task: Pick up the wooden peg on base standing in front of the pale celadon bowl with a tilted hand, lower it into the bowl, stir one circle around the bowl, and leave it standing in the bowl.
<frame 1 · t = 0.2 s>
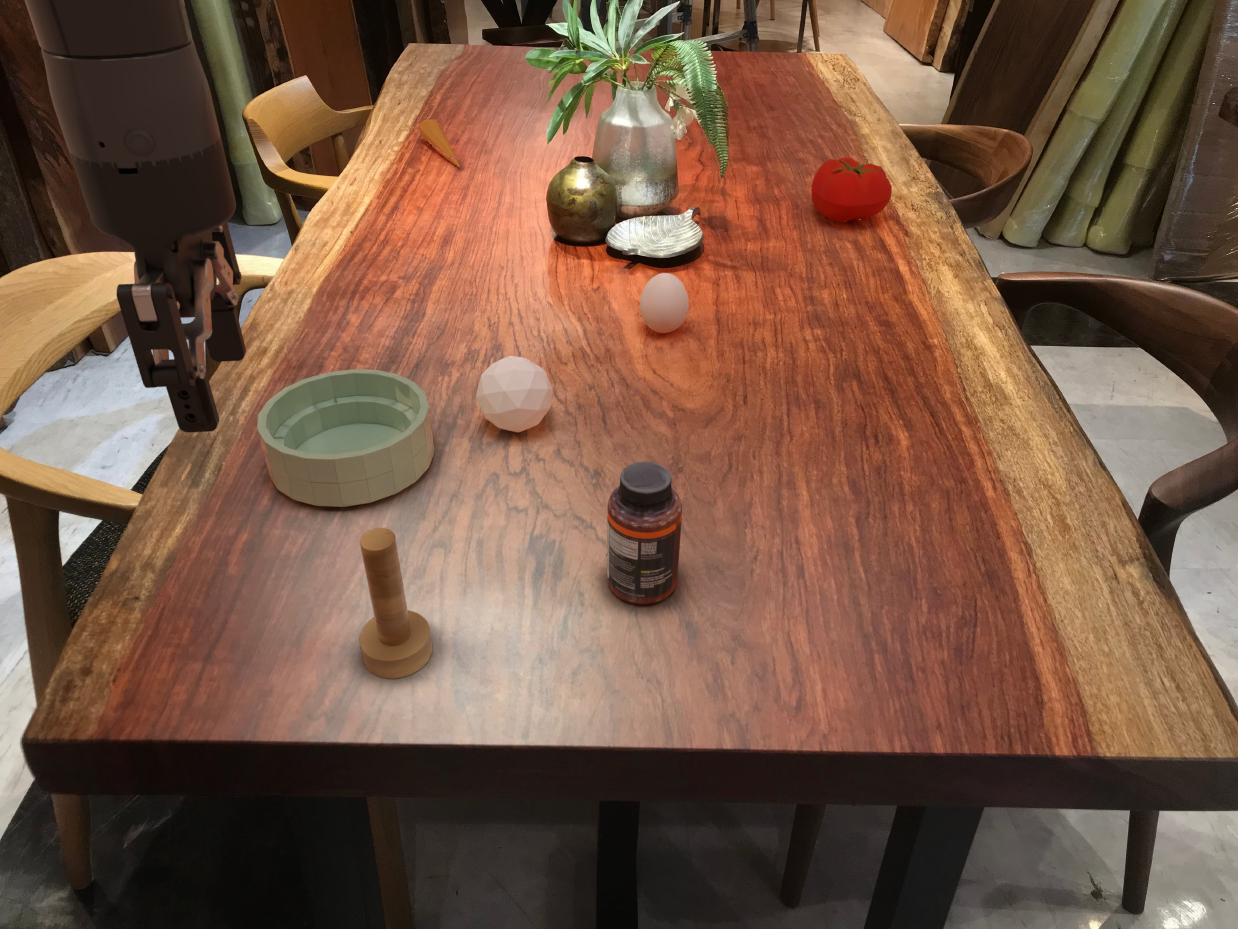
hand: (216, 391, 58), 22 cm above the table, tool pointing down, fingers open, 8 cm apart
geometric ball: (516, 425, 94), on the table
tomato: (846, 218, 145), on the table
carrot: (442, 155, 167), on the table
egg: (662, 332, 112), on the table
wooden peg on base: (398, 652, 68), on the table
bowl: (353, 461, 88), on the table
supplement bottle: (641, 584, 75), on the table
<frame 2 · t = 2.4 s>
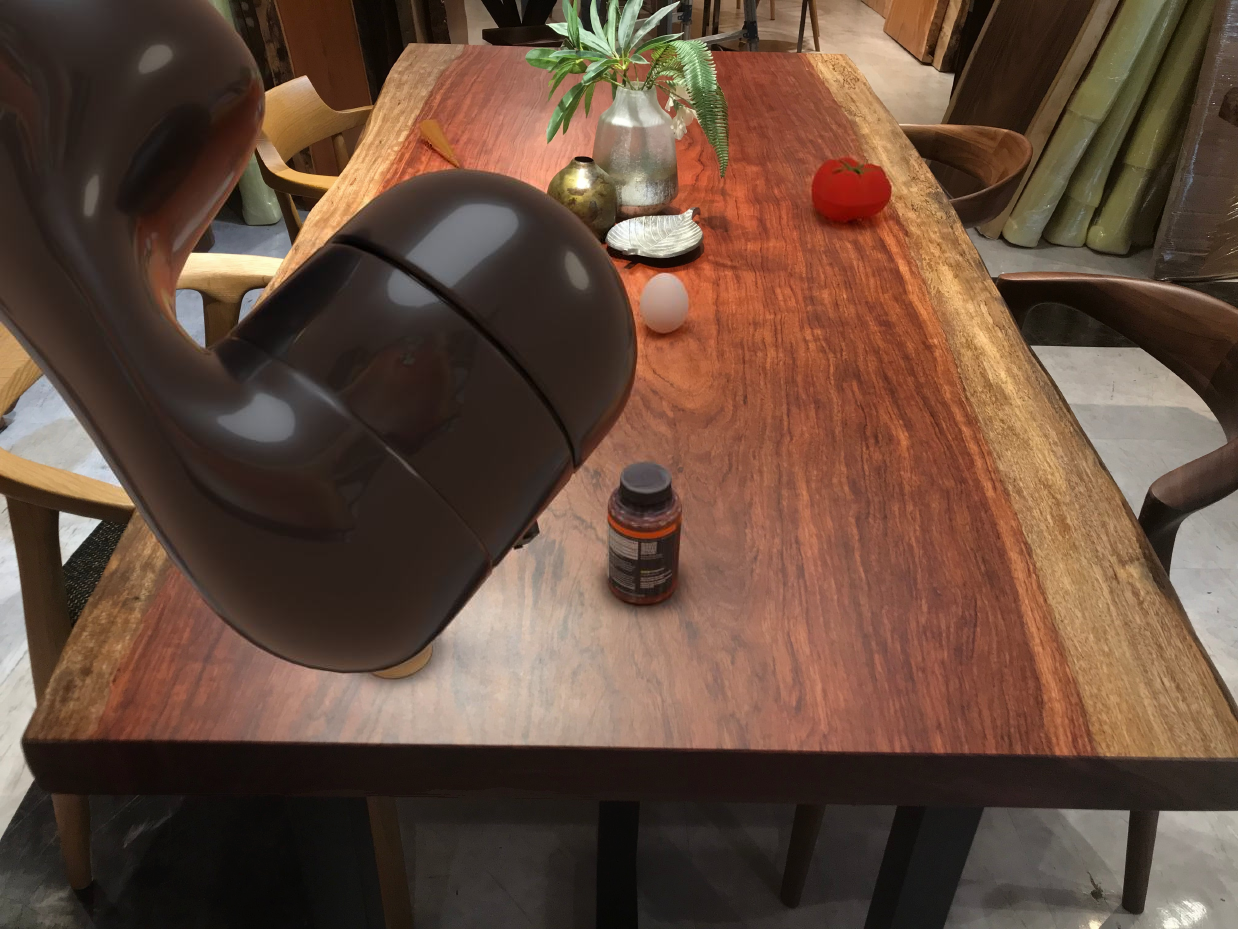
hand: (385, 562, 49), 19 cm above the table, tool tilted 45°, fingers open, 8 cm apart
nothing on the table moved.
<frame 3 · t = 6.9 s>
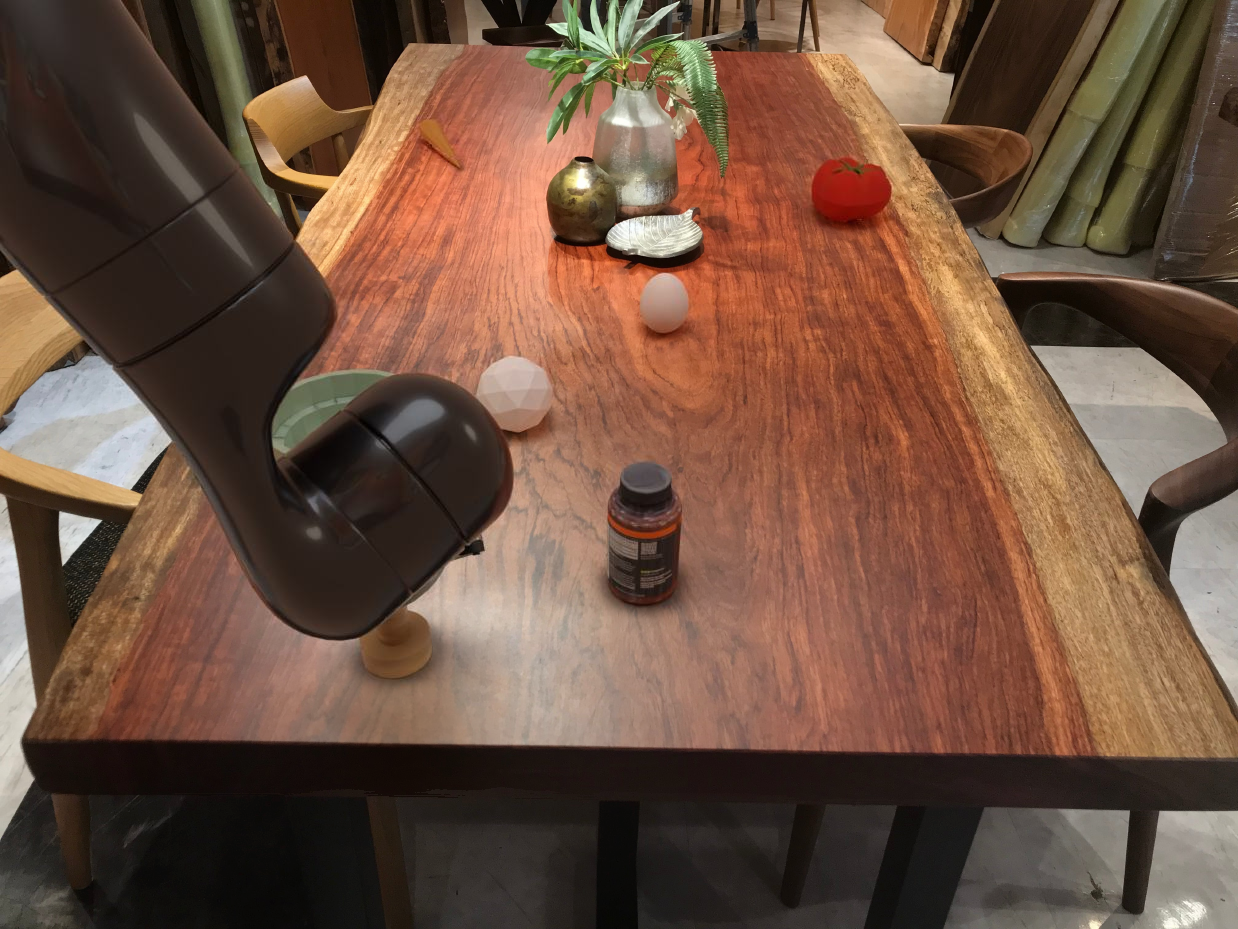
hand: (381, 562, 66), 7 cm above the table, tool tilted 45°, fingers closed on wooden peg on base, 2 cm apart
wooden peg on base: (398, 652, 68), on the table, touching gripper
everything else where it was.
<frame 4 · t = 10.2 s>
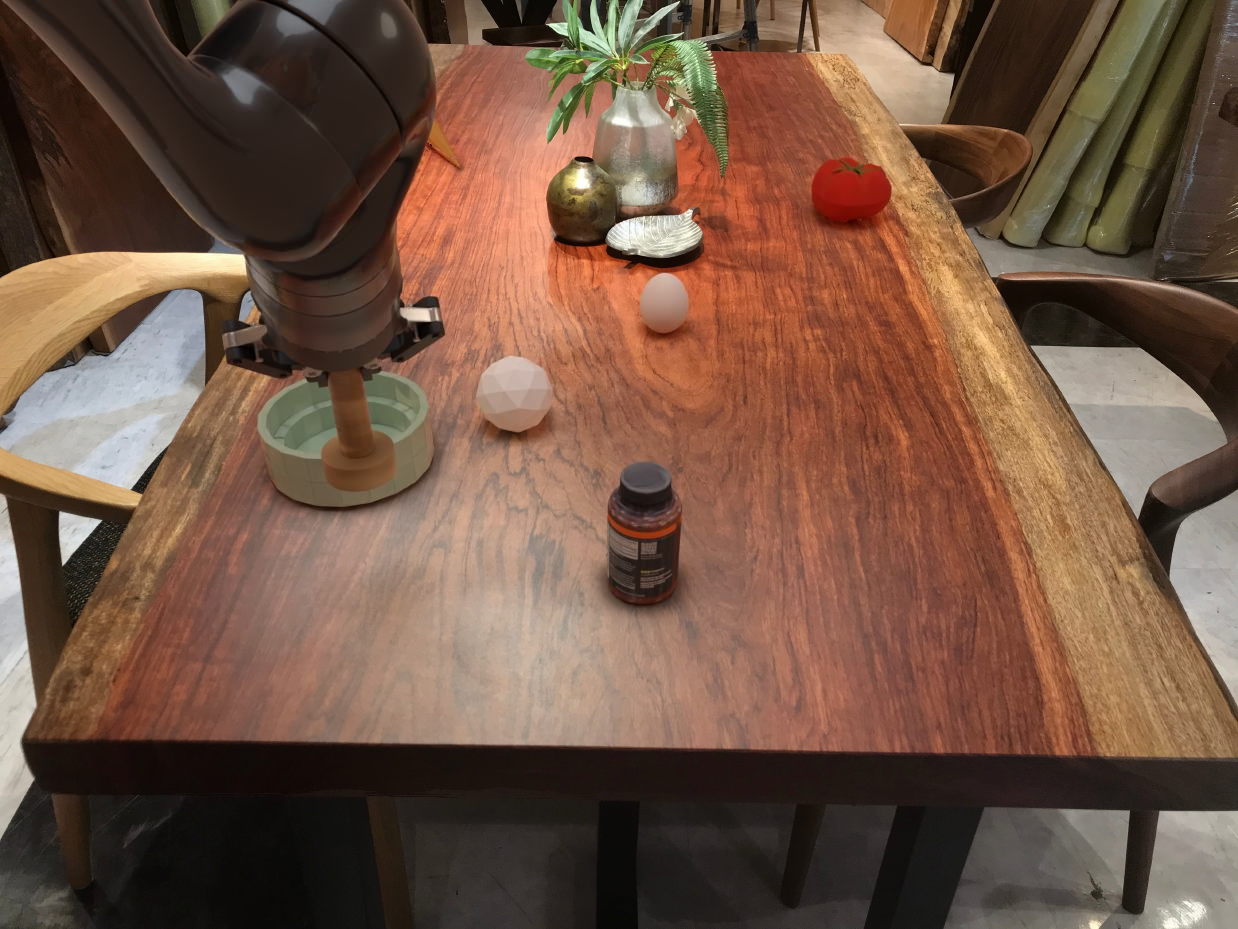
hand: (343, 370, 64), 20 cm above the table, tool tilted 45°, fingers closed on wooden peg on base, 2 cm apart
wooden peg on base: (361, 470, 66), point 12 cm above the table, touching gripper
everything else where it was.
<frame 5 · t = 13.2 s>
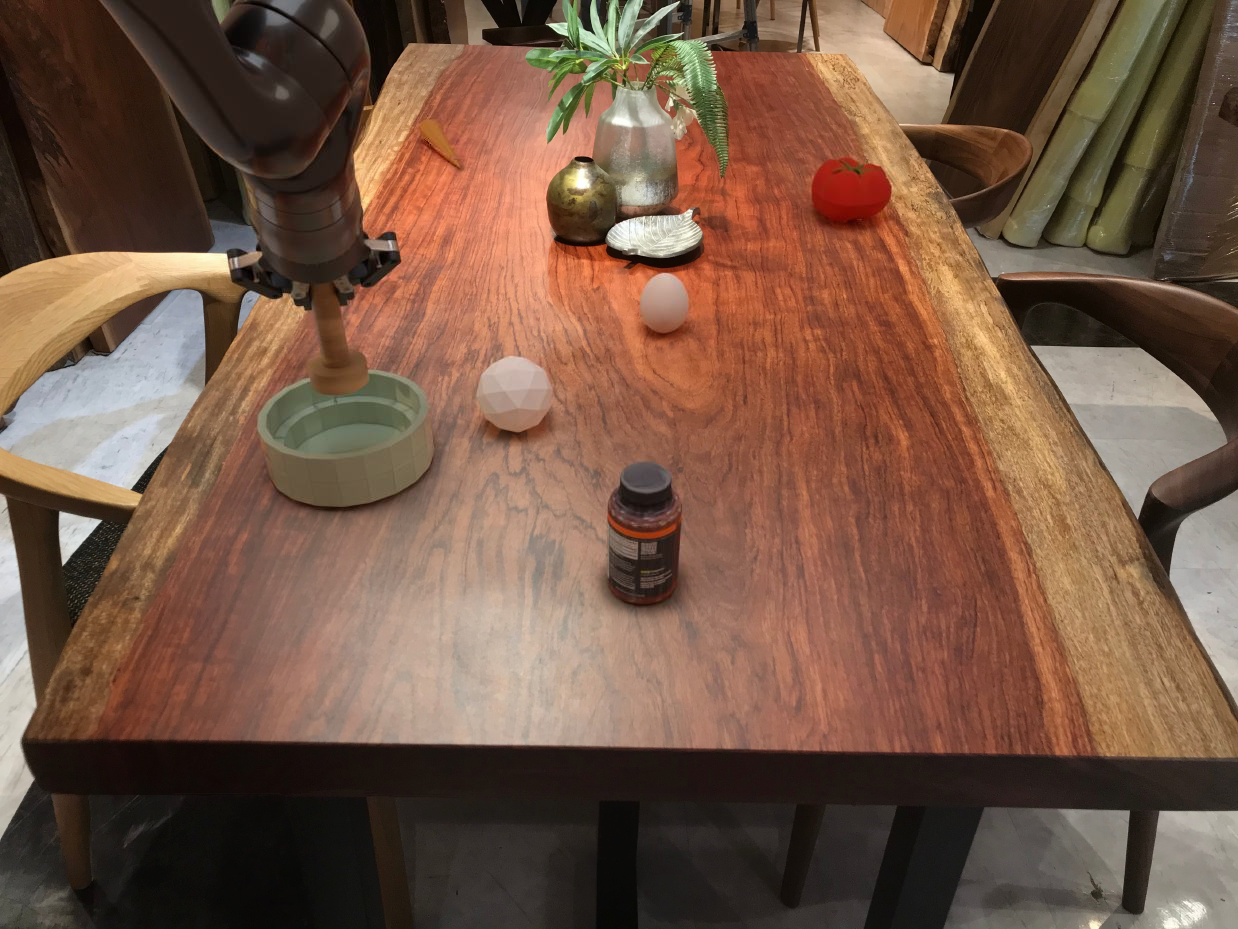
hand: (323, 297, 80), 17 cm above the table, tool tilted 45°, fingers closed on wooden peg on base, 2 cm apart
wooden peg on base: (340, 380, 82), point 9 cm above the table, touching gripper
everything else where it was.
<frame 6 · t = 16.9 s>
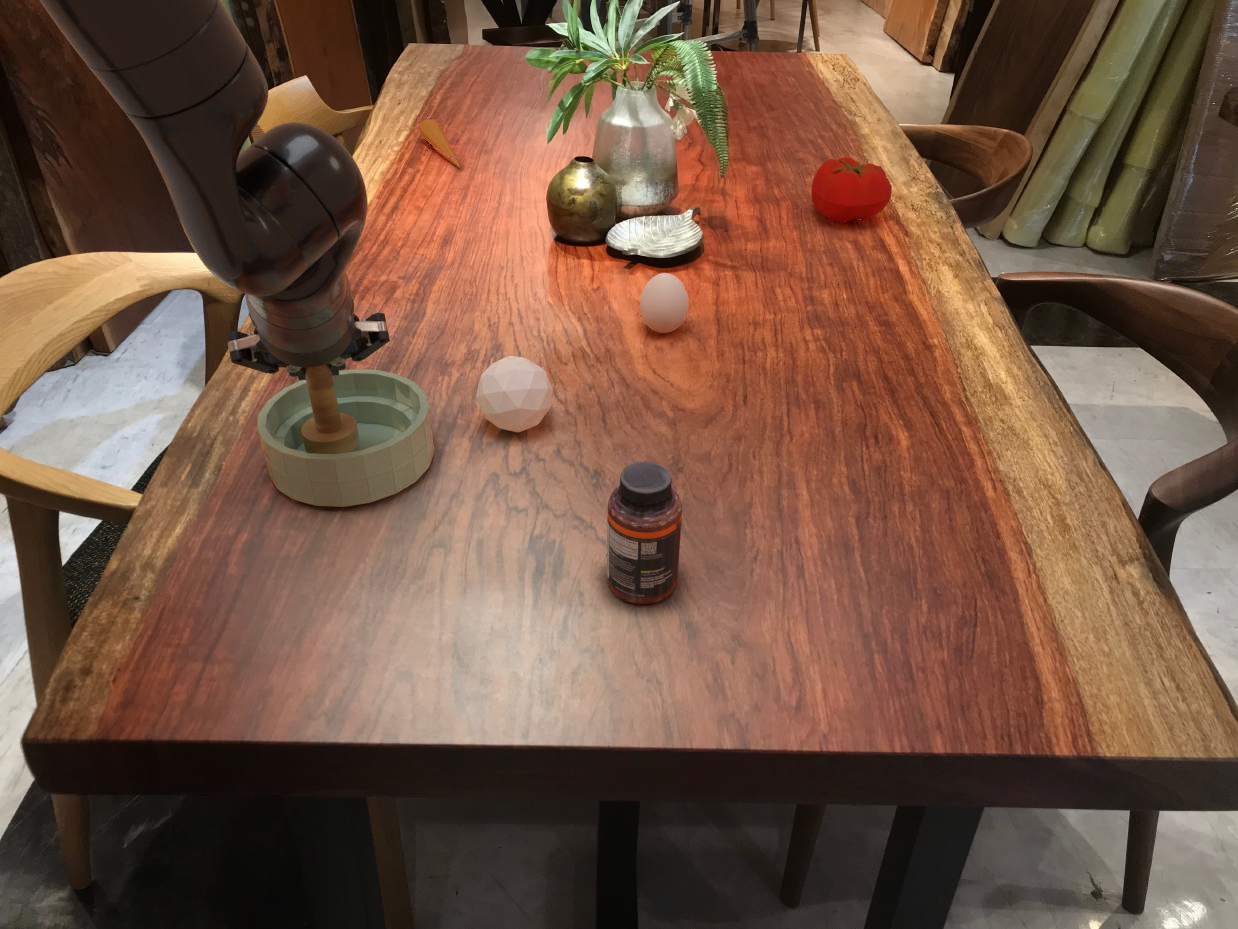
hand: (317, 367, 85), 9 cm above the table, tool tilted 45°, fingers closed on wooden peg on base, 2 cm apart
wooden peg on base: (332, 443, 88), point 2 cm above the table, touching gripper
everything else where it was.
when the fingers open (8 cm above the table, at t = 19.7 s): wooden peg on base stays where it is, resting on bowl.
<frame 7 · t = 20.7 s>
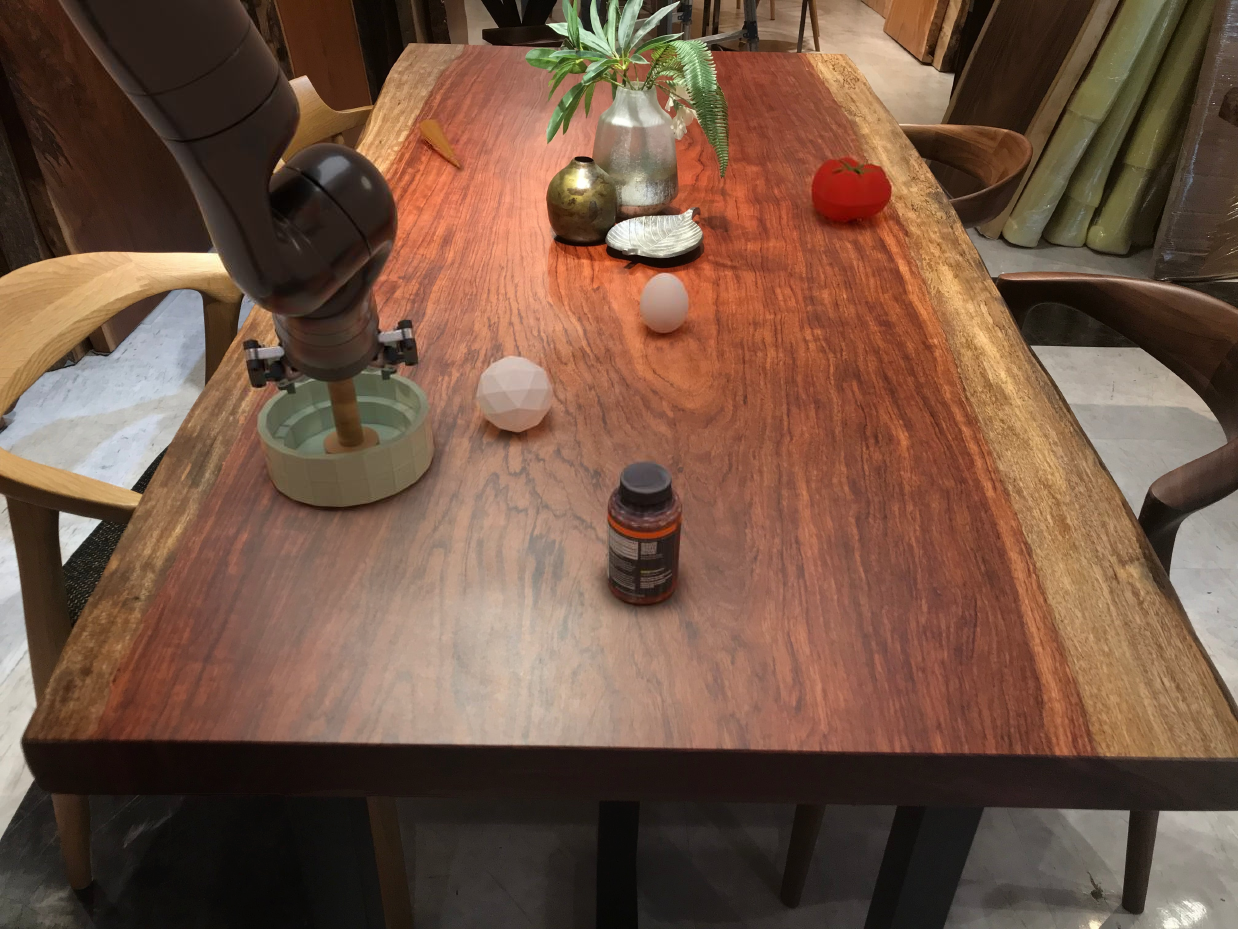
hand: (337, 376, 84), 9 cm above the table, tool tilted 45°, fingers open, 8 cm apart
wooden peg on base: (354, 456, 88), point 1 cm above the table, touching bowl
everything else where it was.
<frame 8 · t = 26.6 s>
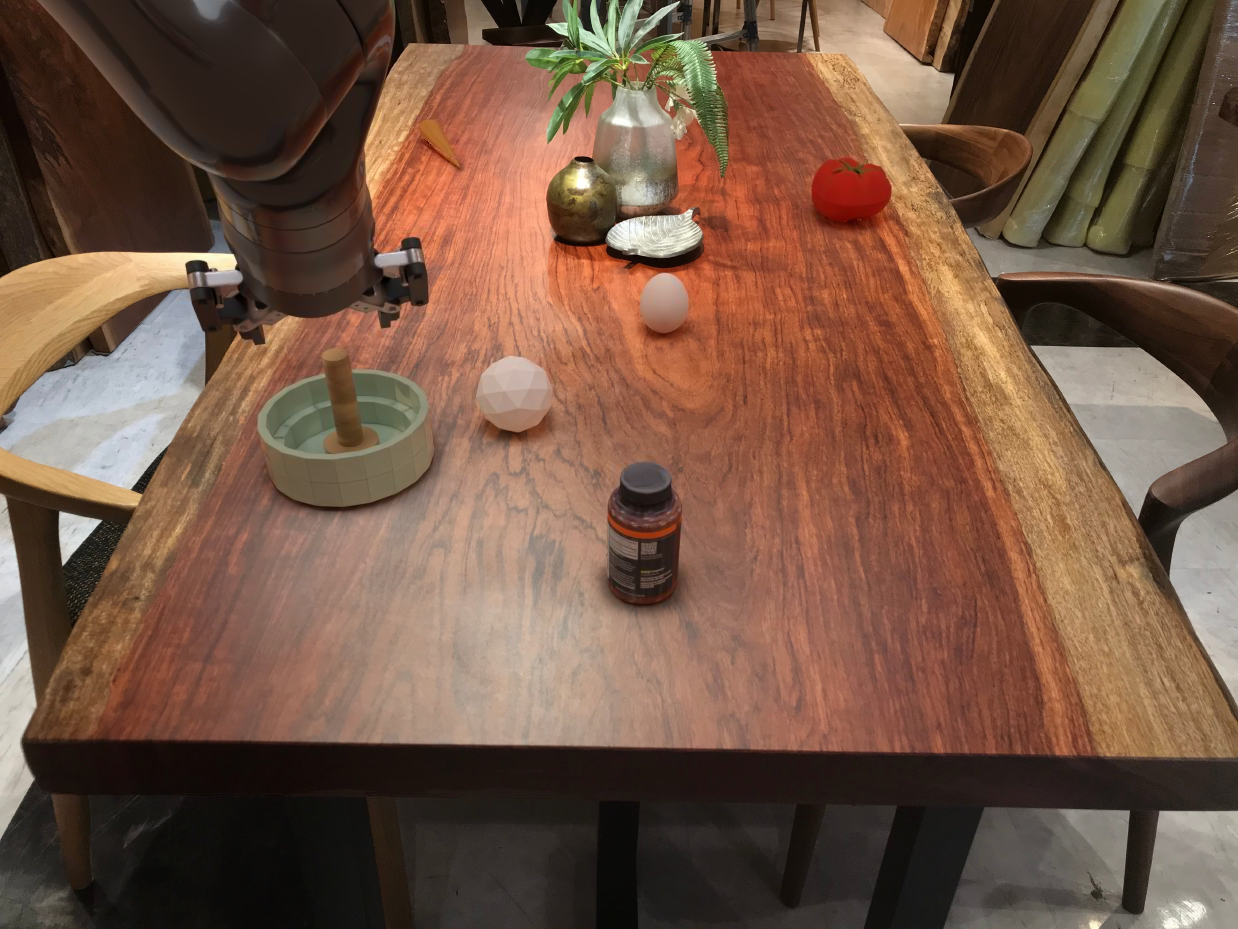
hand: (321, 323, 63), 23 cm above the table, tool tilted 45°, fingers open, 8 cm apart
nothing on the table moved.
at the end: wooden peg on base inside the target area in the bowl (0.1 cm from its centre), point 0.6 cm above the bowl's base; the gripper is holding nothing; wooden peg on base moved 26.2 cm from its start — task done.
